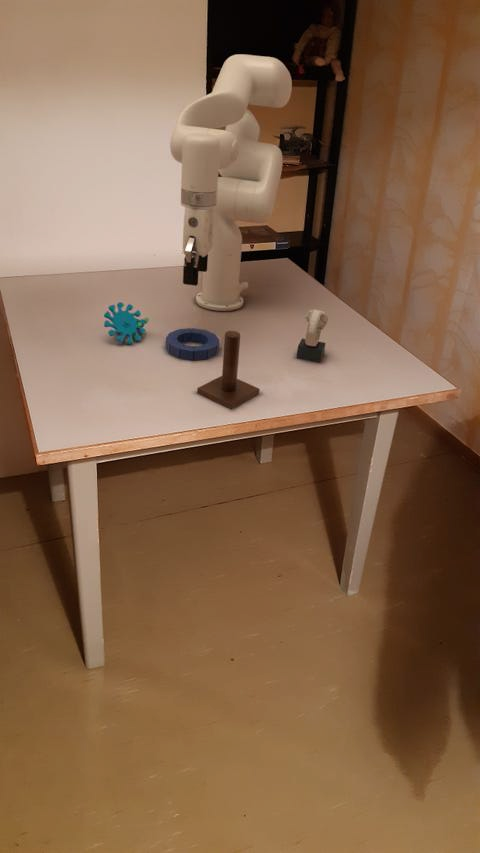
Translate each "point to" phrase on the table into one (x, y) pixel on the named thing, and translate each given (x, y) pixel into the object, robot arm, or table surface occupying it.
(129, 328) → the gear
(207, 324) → the table surface
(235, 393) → the stand
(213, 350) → the ring
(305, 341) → the ram head statue
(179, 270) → the table surface
